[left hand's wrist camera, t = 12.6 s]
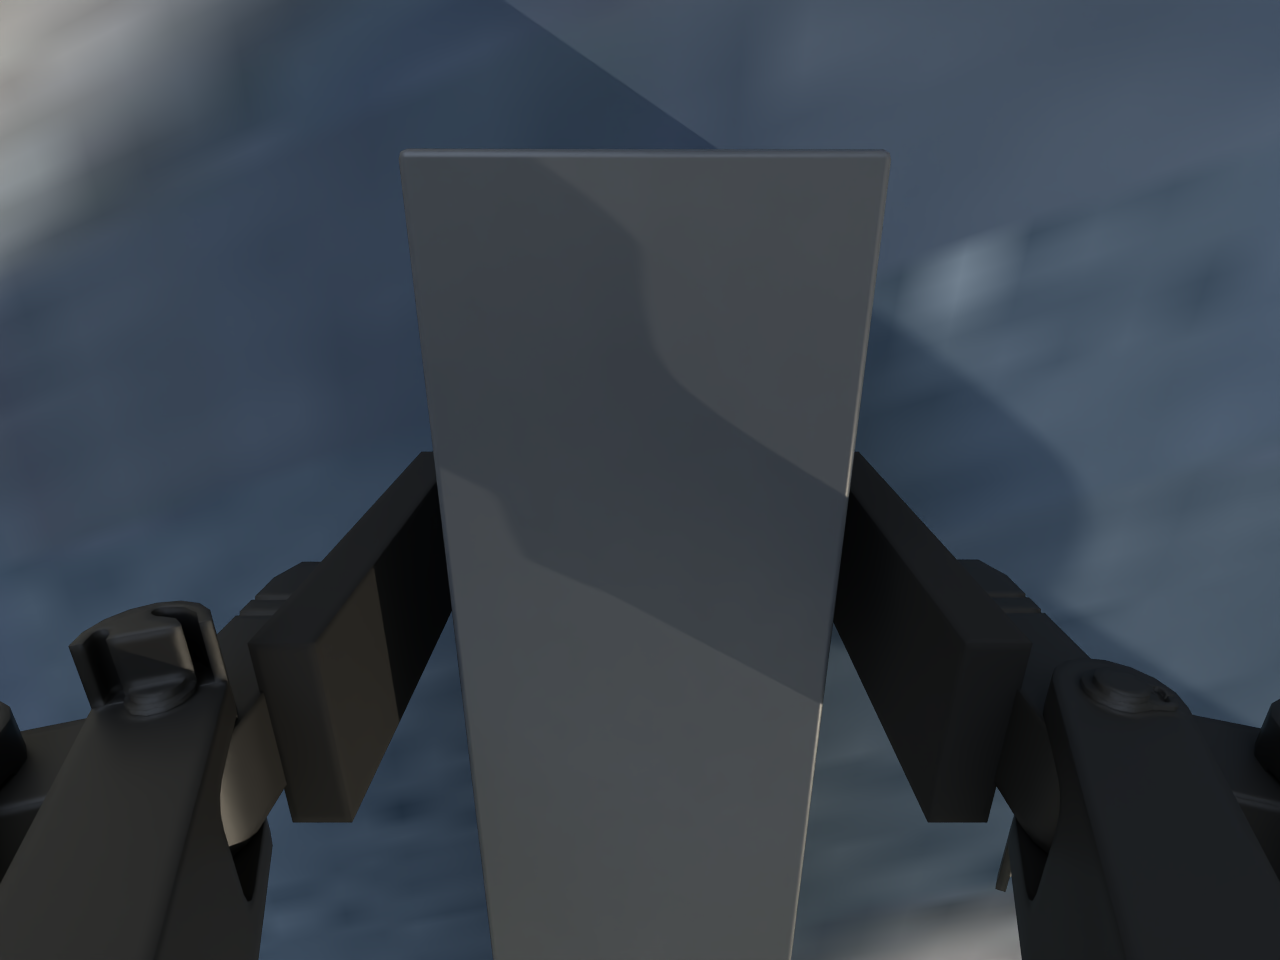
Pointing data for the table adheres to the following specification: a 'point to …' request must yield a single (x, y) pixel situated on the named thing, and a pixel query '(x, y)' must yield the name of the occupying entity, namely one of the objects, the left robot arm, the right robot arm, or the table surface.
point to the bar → (643, 520)
